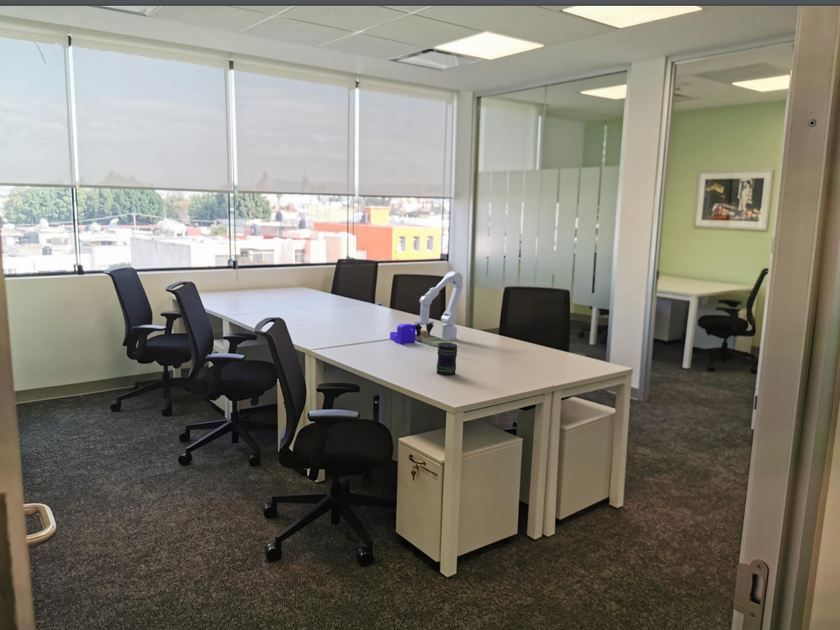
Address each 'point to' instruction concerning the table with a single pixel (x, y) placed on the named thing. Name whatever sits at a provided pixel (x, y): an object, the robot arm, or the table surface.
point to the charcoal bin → (423, 338)
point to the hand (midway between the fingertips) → (423, 335)
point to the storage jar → (446, 359)
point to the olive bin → (435, 341)
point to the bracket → (404, 334)
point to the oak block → (423, 334)
